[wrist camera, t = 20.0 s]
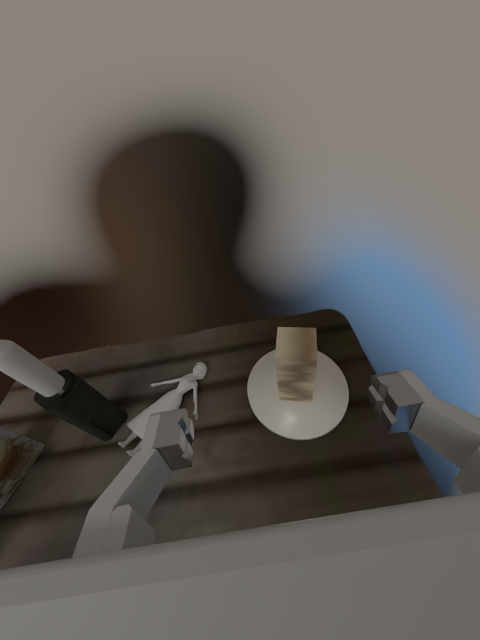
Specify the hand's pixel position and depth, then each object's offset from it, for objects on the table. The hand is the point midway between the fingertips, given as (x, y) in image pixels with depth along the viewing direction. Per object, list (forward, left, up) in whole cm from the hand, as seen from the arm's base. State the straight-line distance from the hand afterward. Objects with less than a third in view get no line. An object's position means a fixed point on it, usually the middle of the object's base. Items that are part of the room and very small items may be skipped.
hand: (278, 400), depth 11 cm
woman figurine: (-20, +9, -29) cm, 37 cm away
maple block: (+1, +14, -27) cm, 31 cm away
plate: (+1, +14, -28) cm, 32 cm away
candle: (-30, +5, -29) cm, 42 cm away
